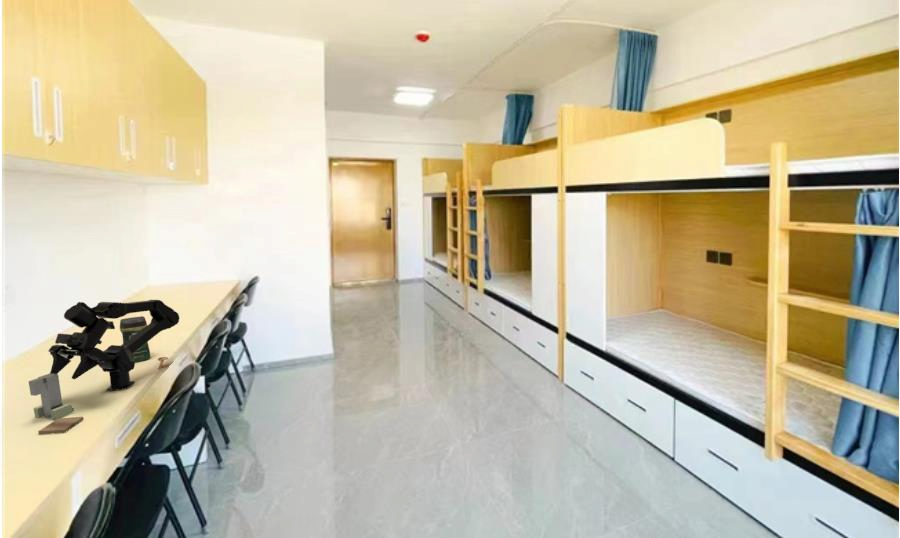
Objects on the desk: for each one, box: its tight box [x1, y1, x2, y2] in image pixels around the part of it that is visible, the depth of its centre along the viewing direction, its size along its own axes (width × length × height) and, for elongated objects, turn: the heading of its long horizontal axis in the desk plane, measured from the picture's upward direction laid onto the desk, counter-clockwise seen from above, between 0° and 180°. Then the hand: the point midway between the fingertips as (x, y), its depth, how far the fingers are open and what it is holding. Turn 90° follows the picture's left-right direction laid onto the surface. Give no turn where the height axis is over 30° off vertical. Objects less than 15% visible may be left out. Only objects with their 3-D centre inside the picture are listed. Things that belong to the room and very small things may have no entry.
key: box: [157, 356, 170, 370], centre depth 189 cm, size 6×1×15 cm
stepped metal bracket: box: [28, 372, 64, 419], centre depth 141 cm, size 6×3×13 cm, turn 166°
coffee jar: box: [119, 315, 151, 363], centre depth 192 cm, size 10×8×19 cm
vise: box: [33, 403, 75, 421], centre depth 144 cm, size 6×9×3 cm
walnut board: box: [37, 416, 85, 435], centre depth 135 cm, size 8×7×1 cm
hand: (61, 377), depth 145 cm, fingers open, 9 cm apart
